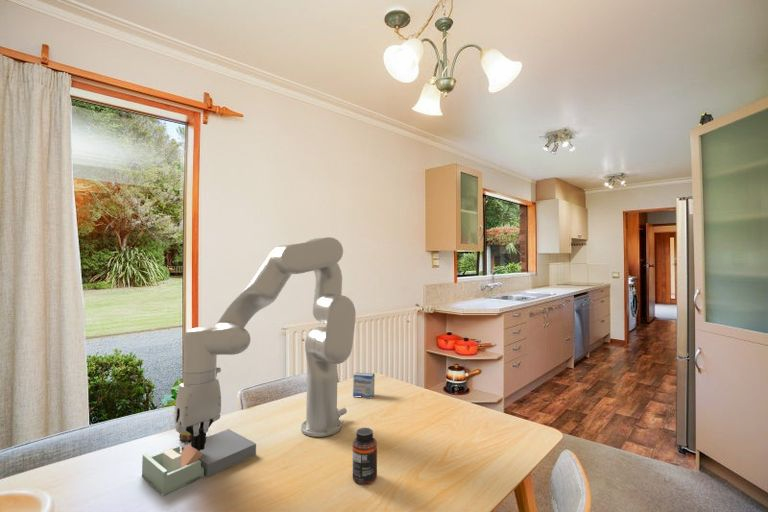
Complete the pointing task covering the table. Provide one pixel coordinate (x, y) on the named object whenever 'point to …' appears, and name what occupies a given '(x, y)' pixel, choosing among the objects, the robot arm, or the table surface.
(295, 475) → the table surface
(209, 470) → the slate board
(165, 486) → the bin
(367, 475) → the supplement bottle
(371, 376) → the medicine box
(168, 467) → the cream tile
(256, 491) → the table surface
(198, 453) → the terracotta tile
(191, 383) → the robot arm
